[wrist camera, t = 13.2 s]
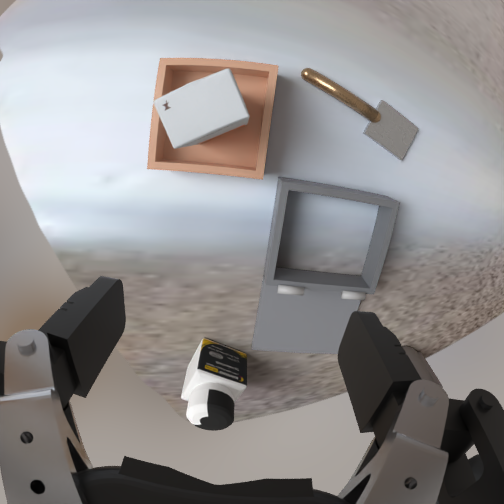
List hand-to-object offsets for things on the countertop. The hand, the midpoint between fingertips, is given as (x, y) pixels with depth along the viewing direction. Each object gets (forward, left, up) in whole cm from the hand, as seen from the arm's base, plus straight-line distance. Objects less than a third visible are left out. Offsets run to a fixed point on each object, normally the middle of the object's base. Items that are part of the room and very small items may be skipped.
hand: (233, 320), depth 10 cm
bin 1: (+4, -8, -25) cm, 27 cm away
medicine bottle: (+1, +26, -26) cm, 37 cm away
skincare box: (+4, -8, -25) cm, 26 cm away
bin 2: (-11, +11, -25) cm, 30 cm away
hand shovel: (-12, -12, -25) cm, 31 cm away
